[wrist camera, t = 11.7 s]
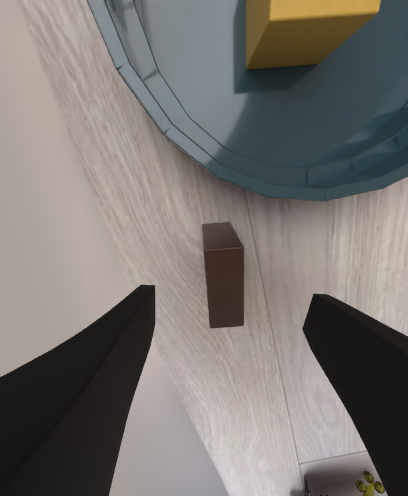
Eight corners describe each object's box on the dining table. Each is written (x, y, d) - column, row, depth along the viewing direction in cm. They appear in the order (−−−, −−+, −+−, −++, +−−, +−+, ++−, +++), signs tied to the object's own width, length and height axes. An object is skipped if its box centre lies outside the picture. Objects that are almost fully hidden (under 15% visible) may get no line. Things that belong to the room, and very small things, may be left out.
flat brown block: (206, 284, 17) (209, 329, 12) (201, 223, 15) (203, 249, 10) (231, 282, 17) (244, 326, 12) (229, 221, 15) (244, 246, 10)
